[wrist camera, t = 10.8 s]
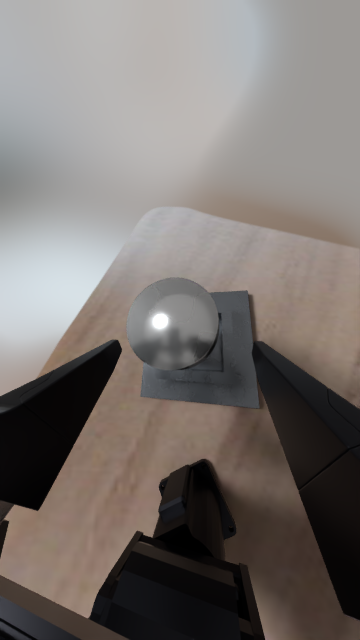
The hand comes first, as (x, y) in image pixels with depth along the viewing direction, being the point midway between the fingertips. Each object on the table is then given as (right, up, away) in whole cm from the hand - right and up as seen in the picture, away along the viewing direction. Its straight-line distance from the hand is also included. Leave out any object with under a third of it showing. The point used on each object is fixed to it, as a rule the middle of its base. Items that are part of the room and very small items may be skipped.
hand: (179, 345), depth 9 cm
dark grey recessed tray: (+2, -2, +11) cm, 12 cm away
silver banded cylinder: (+2, -2, +10) cm, 11 cm away
